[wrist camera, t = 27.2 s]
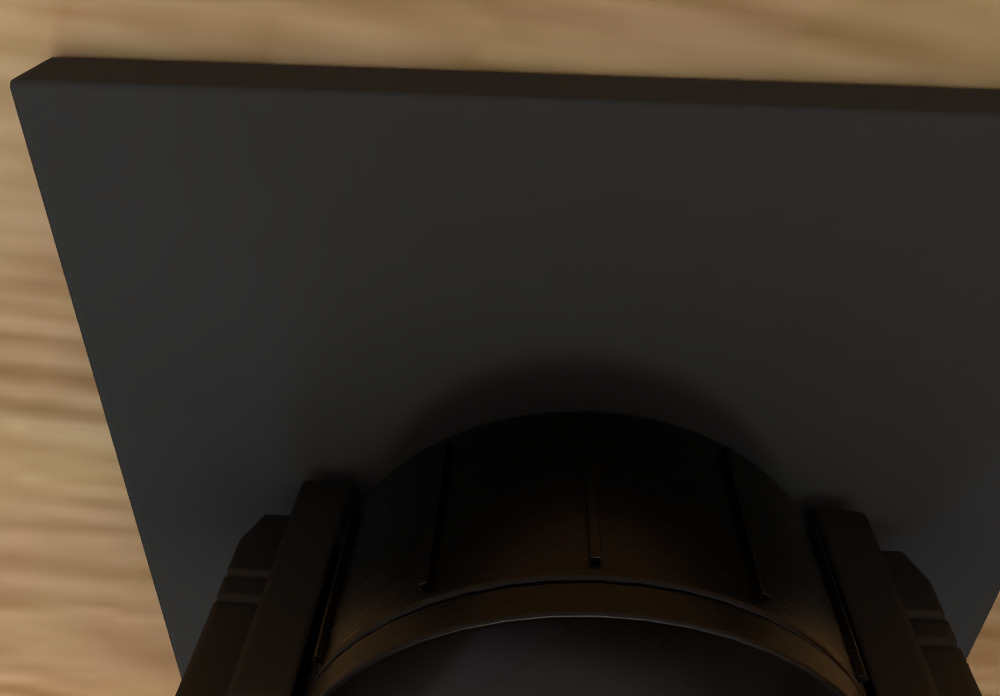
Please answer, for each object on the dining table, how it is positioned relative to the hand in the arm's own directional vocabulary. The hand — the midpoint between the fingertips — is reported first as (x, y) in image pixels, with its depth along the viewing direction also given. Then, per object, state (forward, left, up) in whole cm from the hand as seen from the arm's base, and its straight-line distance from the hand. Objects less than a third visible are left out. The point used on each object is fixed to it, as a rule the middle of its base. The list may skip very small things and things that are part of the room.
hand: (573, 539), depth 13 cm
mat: (0, 0, -1) cm, 1 cm away
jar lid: (0, 0, +1) cm, 1 cm away
